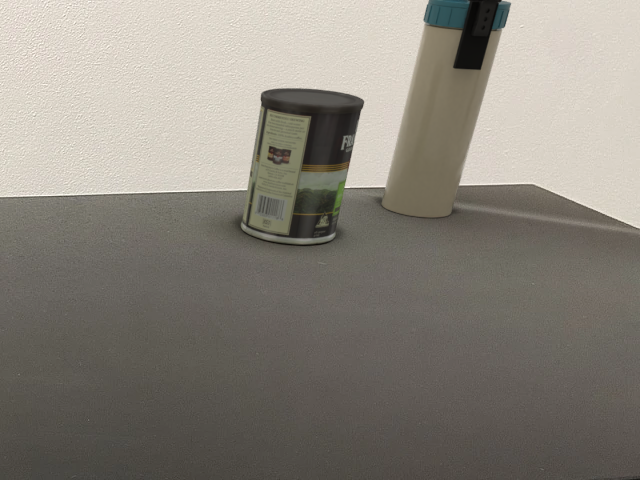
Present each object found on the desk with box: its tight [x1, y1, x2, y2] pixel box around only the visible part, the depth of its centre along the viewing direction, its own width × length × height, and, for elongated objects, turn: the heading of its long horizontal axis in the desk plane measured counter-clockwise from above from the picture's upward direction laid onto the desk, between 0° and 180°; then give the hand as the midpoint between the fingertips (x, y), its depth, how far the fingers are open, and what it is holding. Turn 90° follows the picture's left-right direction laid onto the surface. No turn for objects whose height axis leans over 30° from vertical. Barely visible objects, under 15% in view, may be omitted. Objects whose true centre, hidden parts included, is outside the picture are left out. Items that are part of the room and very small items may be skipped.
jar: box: [381, 22, 503, 219], centre depth 110 cm, size 8×8×22 cm
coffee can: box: [240, 87, 365, 246], centre depth 103 cm, size 10×10×14 cm
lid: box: [423, 0, 512, 30], centre depth 105 cm, size 8×8×2 cm
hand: (454, 62), depth 108 cm, fingers closed on lid, 8 cm apart
